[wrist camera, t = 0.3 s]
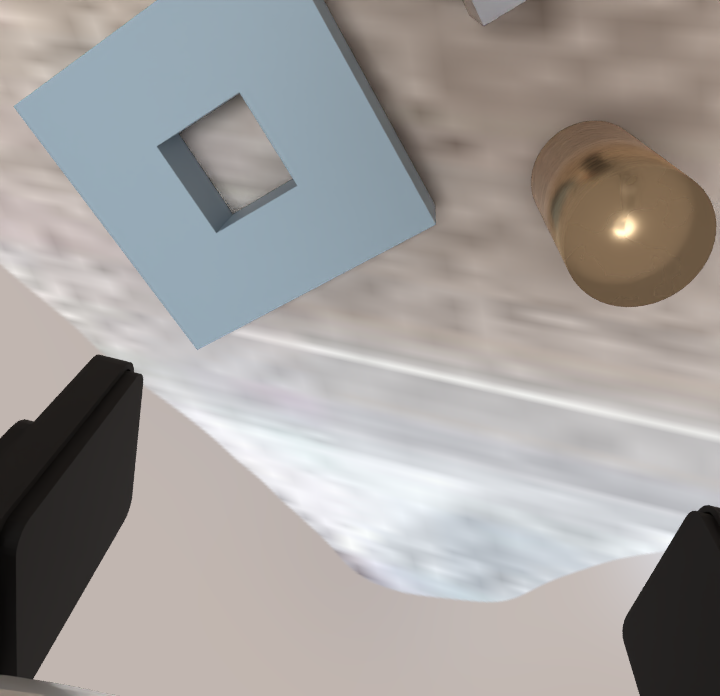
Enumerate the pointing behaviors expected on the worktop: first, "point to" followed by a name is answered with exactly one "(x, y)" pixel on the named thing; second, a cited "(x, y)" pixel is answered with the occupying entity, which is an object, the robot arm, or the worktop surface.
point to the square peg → (489, 9)
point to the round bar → (621, 215)
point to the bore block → (190, 183)
